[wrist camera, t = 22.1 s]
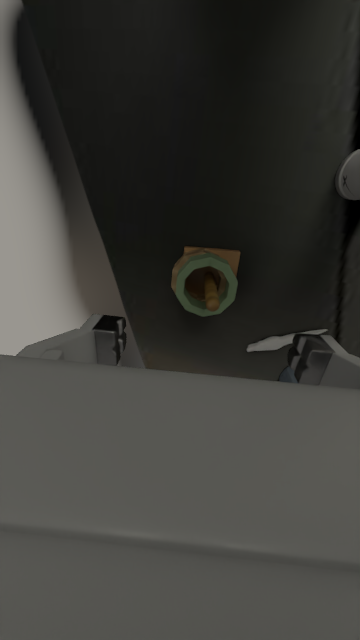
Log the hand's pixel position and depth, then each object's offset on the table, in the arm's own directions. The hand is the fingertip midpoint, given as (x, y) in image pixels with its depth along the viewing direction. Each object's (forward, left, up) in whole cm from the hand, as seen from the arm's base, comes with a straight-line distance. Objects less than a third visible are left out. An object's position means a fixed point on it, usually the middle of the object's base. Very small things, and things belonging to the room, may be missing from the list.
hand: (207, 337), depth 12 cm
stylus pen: (+17, +18, -31) cm, 40 cm away
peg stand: (+6, +2, -31) cm, 32 cm away
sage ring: (+6, +1, -27) cm, 27 cm away
